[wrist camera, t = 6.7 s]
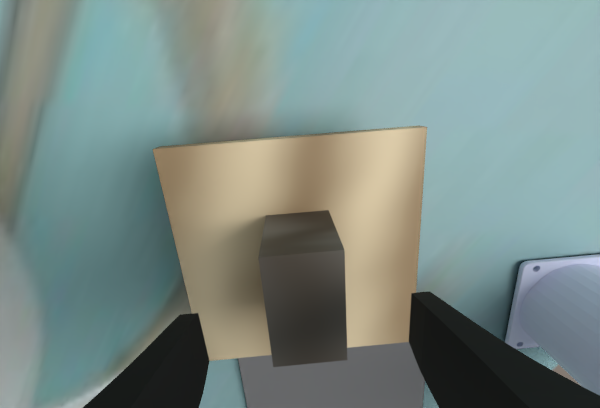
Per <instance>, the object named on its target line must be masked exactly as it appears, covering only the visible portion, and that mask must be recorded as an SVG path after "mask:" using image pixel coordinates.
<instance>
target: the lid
mask: <svg viewBox="0 0 600 408" xmlns="http://www.w3.org/2000/svg"><path fill="white" fill-rule="evenodd" d="M426 135H427V127H424V126H409V127H397V128H384V129H372V130H359V131H347V132H335V133H322V134H310V135H297V136H285V137H273V138H260V139H248V140H235V141H223V142H211V143H198V144H186V145H173V146H161V147H158V148H155V149H153V153H154V157H155V161H156V165H157V169H158V173H159V178H160V182H161V186H162V190H163V194H164V199H165V203H166V207H167V211H168V215H169V220H170V224H171V228H172V232H173V236H174V240H175V245H176V249H177V253H178V257H179V261H180V266H181V270H182V274H183V278H184V282H185V287H186V291H187V295H188V299H189V303H190V307H191V312H192V314H194V313H198V314H199V318H200V323H201V327H202V331H203V335H204V340H205V344H206V348H207V353H208V357H209V361H213V360H223V359H234V358H244V357H255V356H266V355H272V362H273V367H281V366H292V365H302V364H312V363H323V362H333V361H344V360H347V348H350V347H361V346H371V345H382V344H392V343H403V342H409V327H410V310H411V293H416V284H417V269H418V254H419V239H420V224H421V209H422V194H423V179H424V164H425V150H426Z"/></svg>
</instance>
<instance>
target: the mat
mask: <svg viewBox="0 0 600 408" xmlns="http://www.w3.org/2000/svg"><path fill="white" fill-rule="evenodd" d="M238 361H239V366H240V371H241V377H242V382H243V387H244V393H245V398H246V403H247V408H423V396H424V385H425V379H424V377H423V375H422V374H421V372H420V369H419V367H418V364H417V362H416V359H415V357H414V354H413V351H412V349H411V346H410V343H409V342H403V343H392V344H382V345H371V346H361V347H350V348H347V360H344V361H333V362H323V363H312V364H302V365H292V366H281V367H273V362H272V355H266V356H255V357H244V358H238Z"/></svg>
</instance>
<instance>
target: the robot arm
mask: <svg viewBox="0 0 600 408" xmlns="http://www.w3.org/2000/svg"><path fill="white" fill-rule="evenodd" d="M534 267H535V268H534ZM409 343H410V346H411V349H412V351H413V354H414V357H415V359H416V362H417V364H418V367H419V369H420V372H421V374H422V375H423V377H424V379H425V381H426V383H427V385H428V387H429V389H430V391H431V393H432V395H433V397H434V399H435V400H436V402H437V404H438V406H439V408H600V254H596V255H586V256H575V257H564V258H553V259H542V260H531V261H525V262H523V263H522V264H521V265H520V267H519V272H518V277H517V283H516V288H515V293H514V298H513V303H512V308H511V313H510V318H509V323H508V328H507V334H506V339H505V342H503V341H502V340H500V339H499V338H497V337H495V336H494V335H492V334H491V333H489V332H488V331H486V330H485V329H483V328H482V327H480V326H479V325H477V324H476V323H474V322H473V321H471V320H470V319H469V318H467V317H466V316H464V315H463V314H461V313H460V312H458V311H457V310H456V309H454V308H453V307H451V306H450V305H448V304H447V303H446V302H444V301H443V300H441V299H440V298H438V297H437V296H435V295H434V294H432V293H431V292H420V293H411V310H410V327H409ZM532 347H541V348H542V349H544V350H545V351H546V352H547V353H548V354H549V355H550V356H551V357H552V358H553V359H554V360H555V361H556V362H557V363H558V364H559V365H560V366H561V367H562V368H563V369H564V370H566V371H567V372H568V373H569V374H570V375H571V376H572V377H573V378H574V379H575V380H576V381H577V382H578V383H579V384H580V385H581V386H580V385H578V384H576V383H574V382H573V381H571V380H569V379H567V378H565V377H563V376H561V375H560V374H558V373H556V372H554V371H552V370H550V369H548V368H547V367H545V366H543V365H541V364H540V363H538V362H536V361H534V360H533V359H531V358H529V357H528V356H526V355H524V354H523V353H521V352H520V351H518V350H516V349H522V348H532ZM208 364H209V357H208V353H207V348H206V344H205V340H204V335H203V331H202V327H201V323H200V318H199V314H198V313H194V314H183V315H179V316H178V317H177V318H176V319H175V320H174V321H173V322H172V323H171V324H170V325H169V326H168V327H167V328H166V329H165V330H164V331H163V332H162V333H161V334H160V335H159V336H158V337H157V338H156V339H155V340H154V341H153V342H152V343H151V344H150V345H149V346H148V347H147V348H146V349H145V350H144V351H143V352H142V353H141V354H140V355H139V356H138V357H137V358H136V359H135V360H134V361H133V362H132V363H131V364H130V365H129V366H128V367H127V368H126V369H125V370H124V371H123V372H122V373H121V374H119V375H118V376H117V377H116V378H115V379H114V380H113V381H112V382H111V383H110V384H109V385H108V386H106V387H105V388H104V389H103V390H102V391H101V392H100V393H99V394H98V395H97V396H96V397H94V398H93V399H92V400H91V401H90V402H89V403H88V404H86V405H85V406H84V407H83V408H199V404H200V401H201V398H202V394H203V390H204V385H205V380H206V375H207V370H208Z"/></svg>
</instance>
